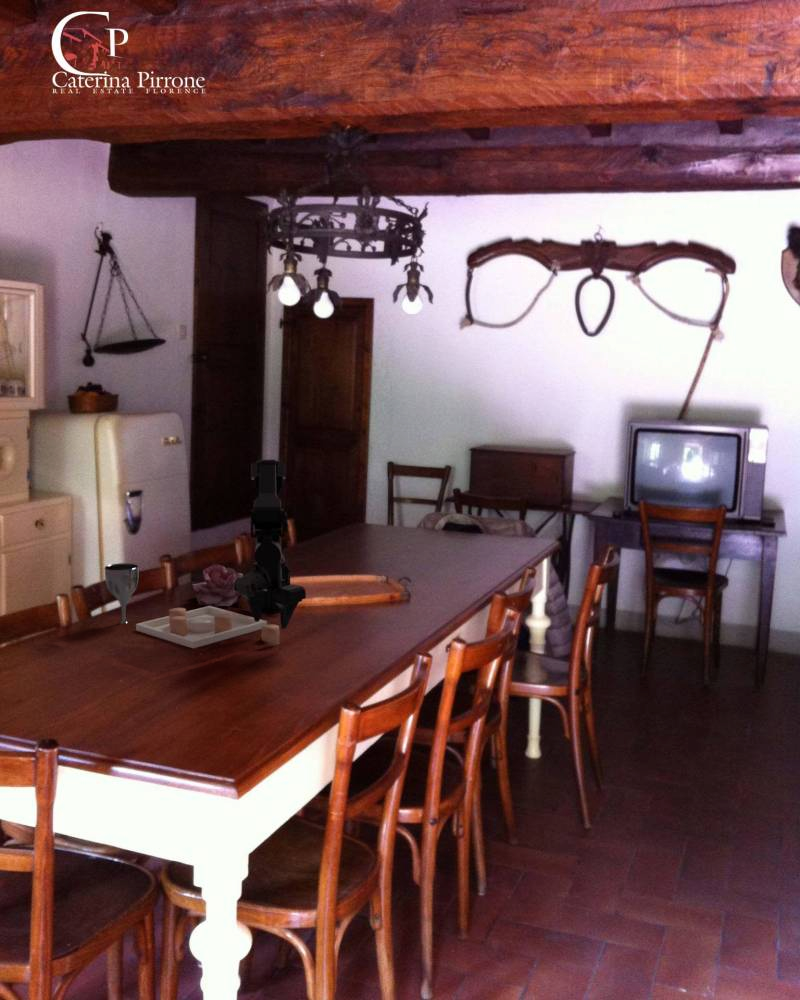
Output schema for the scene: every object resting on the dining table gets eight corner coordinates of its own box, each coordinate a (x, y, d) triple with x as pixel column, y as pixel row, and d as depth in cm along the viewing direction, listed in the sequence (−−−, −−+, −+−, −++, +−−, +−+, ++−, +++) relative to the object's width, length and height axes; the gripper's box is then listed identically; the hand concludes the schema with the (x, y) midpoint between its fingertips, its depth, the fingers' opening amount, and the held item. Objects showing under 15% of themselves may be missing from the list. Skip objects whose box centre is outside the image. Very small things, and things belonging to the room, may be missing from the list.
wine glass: (107, 632, 242) (104, 571, 240) (107, 623, 249) (104, 564, 247) (141, 629, 244) (138, 569, 242) (140, 620, 252) (138, 562, 249)
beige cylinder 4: (179, 622, 246) (179, 606, 245) (189, 625, 243) (189, 609, 243) (166, 626, 243) (165, 610, 242) (176, 629, 240) (175, 613, 240)
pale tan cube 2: (271, 640, 235) (271, 623, 235) (283, 643, 233) (282, 626, 232) (258, 643, 232) (258, 627, 232) (270, 647, 230) (269, 630, 229)
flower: (183, 590, 271) (189, 557, 267) (235, 590, 278) (242, 559, 274) (196, 618, 259) (203, 584, 255) (250, 618, 266) (258, 585, 262)
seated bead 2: (180, 631, 239) (180, 615, 238) (191, 634, 236) (190, 618, 235) (166, 635, 236) (166, 618, 235) (177, 638, 233) (176, 621, 232)
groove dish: (209, 615, 256) (209, 603, 256) (267, 631, 242) (267, 619, 242) (136, 634, 240) (135, 622, 240) (193, 652, 226) (192, 639, 225)
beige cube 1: (235, 631, 238) (235, 615, 238) (224, 636, 235) (223, 619, 234) (222, 629, 240) (222, 613, 240) (211, 633, 237) (210, 617, 236)
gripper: (214, 558, 229) (217, 624, 232) (269, 570, 217) (271, 640, 220) (252, 551, 238) (254, 615, 240) (306, 562, 226) (308, 629, 228)
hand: (270, 624), depth 232 cm, fingers open, 9 cm apart
